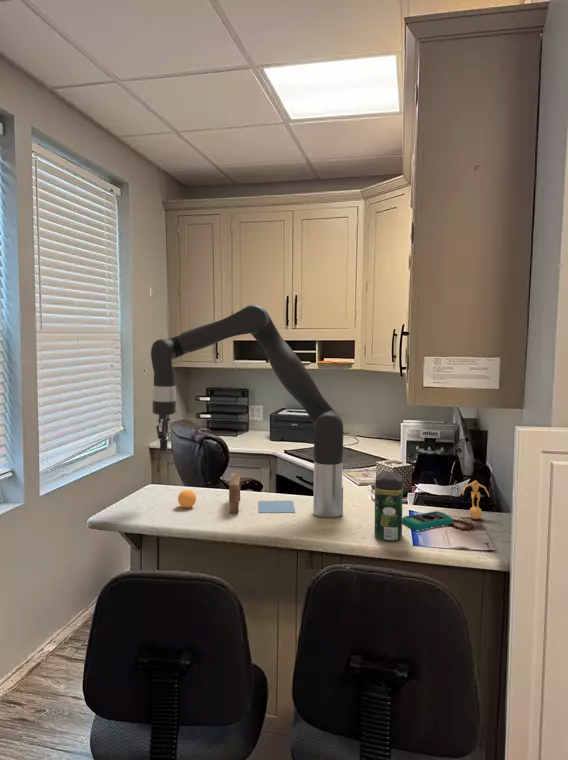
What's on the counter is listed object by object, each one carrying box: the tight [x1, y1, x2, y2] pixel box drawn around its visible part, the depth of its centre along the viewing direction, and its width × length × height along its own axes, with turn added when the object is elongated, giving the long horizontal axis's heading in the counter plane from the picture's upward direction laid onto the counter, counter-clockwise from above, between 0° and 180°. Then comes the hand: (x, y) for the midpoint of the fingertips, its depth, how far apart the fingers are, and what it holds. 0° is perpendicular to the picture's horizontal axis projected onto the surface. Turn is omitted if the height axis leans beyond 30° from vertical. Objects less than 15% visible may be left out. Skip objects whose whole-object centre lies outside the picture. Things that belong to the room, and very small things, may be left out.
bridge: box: [228, 472, 241, 515], centre depth 174 cm, size 3×15×10 cm, turn 2°
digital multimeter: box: [402, 510, 453, 531], centre depth 160 cm, size 7×15×3 cm, turn 116°
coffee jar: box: [374, 470, 404, 543], centre depth 149 cm, size 10×8×19 cm
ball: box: [177, 489, 197, 509], centre depth 174 cm, size 6×6×6 cm
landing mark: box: [258, 500, 296, 514], centre depth 175 cm, size 12×12×1 cm
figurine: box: [461, 480, 490, 520], centre depth 166 cm, size 8×6×12 cm
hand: (163, 450), depth 173 cm, fingers closed
